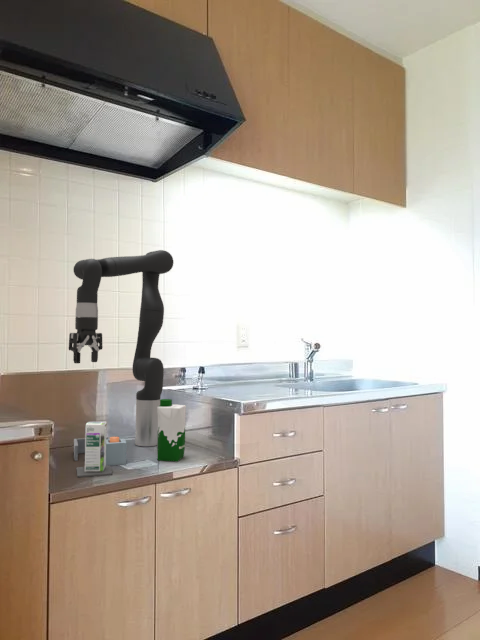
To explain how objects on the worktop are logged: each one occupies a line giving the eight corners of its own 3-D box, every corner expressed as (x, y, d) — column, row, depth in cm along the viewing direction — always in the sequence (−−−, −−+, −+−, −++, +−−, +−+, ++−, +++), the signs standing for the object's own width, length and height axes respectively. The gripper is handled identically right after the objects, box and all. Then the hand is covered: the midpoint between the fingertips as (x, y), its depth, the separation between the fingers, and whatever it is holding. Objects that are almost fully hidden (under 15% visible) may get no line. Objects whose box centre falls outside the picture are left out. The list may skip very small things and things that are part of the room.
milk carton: (162, 455, 183) (163, 397, 184) (187, 456, 182) (188, 398, 182) (153, 461, 175) (154, 401, 175) (179, 462, 173) (180, 402, 173)
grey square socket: (123, 459, 176) (124, 438, 177) (126, 464, 170) (126, 442, 170) (102, 460, 174) (102, 439, 174) (104, 465, 167) (104, 443, 168)
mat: (109, 466, 167) (109, 465, 167) (112, 474, 157) (112, 473, 157) (76, 468, 163) (76, 467, 163) (77, 477, 154) (77, 475, 154)
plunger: (118, 454, 174) (118, 436, 174) (119, 456, 171) (119, 438, 171) (109, 454, 173) (109, 436, 173) (109, 457, 170) (110, 438, 170)
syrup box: (83, 472, 158) (85, 424, 158) (87, 467, 164) (88, 420, 164) (103, 472, 158) (104, 424, 159) (106, 467, 164) (107, 420, 165)
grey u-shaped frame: (109, 450, 188) (110, 437, 188) (113, 458, 177) (113, 443, 178) (73, 453, 184) (73, 438, 184) (74, 460, 173) (74, 445, 173)
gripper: (92, 316, 190) (91, 361, 190) (63, 315, 178) (62, 363, 177) (108, 316, 187) (107, 362, 187) (80, 315, 174) (79, 364, 174)
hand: (85, 362), depth 182 cm, fingers open, 8 cm apart
